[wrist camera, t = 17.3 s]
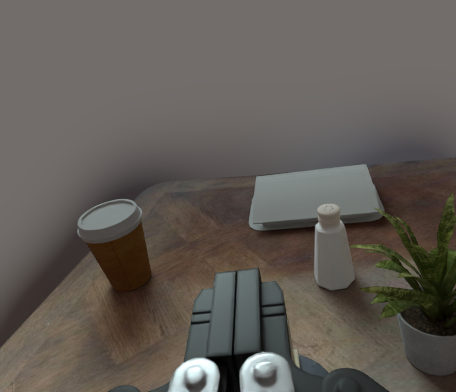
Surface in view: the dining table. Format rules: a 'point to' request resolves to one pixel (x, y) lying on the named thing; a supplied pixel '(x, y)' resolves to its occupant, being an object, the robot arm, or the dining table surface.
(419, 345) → the house plant
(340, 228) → the salt shaker
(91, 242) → the disposable coffee cup
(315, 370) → the disc
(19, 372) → the dining table surface
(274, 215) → the book
